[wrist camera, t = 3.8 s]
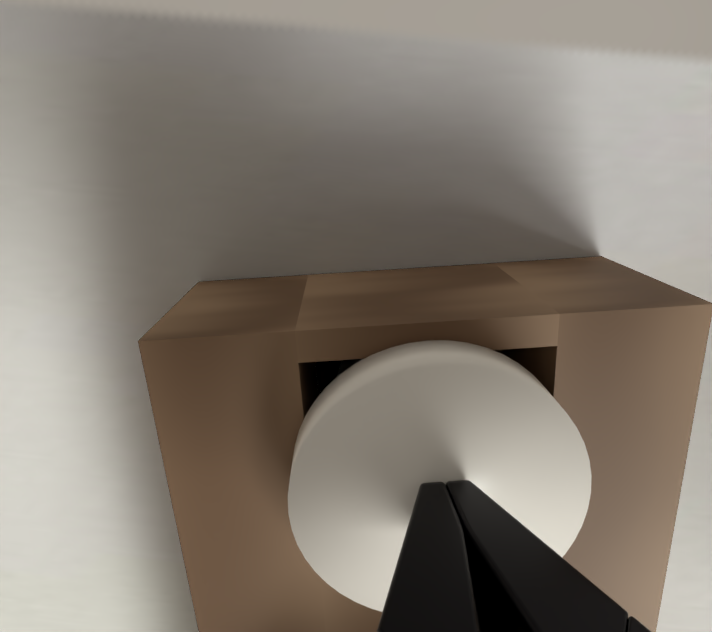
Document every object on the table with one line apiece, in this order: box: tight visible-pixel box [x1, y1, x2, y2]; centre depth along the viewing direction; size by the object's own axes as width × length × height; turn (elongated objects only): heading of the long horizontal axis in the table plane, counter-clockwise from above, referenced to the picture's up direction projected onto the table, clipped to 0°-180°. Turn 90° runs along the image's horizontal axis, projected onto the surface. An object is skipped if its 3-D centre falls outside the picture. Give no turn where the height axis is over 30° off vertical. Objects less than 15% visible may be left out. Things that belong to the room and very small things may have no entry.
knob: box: [288, 340, 592, 612], centre depth 11 cm, size 5×5×4 cm
